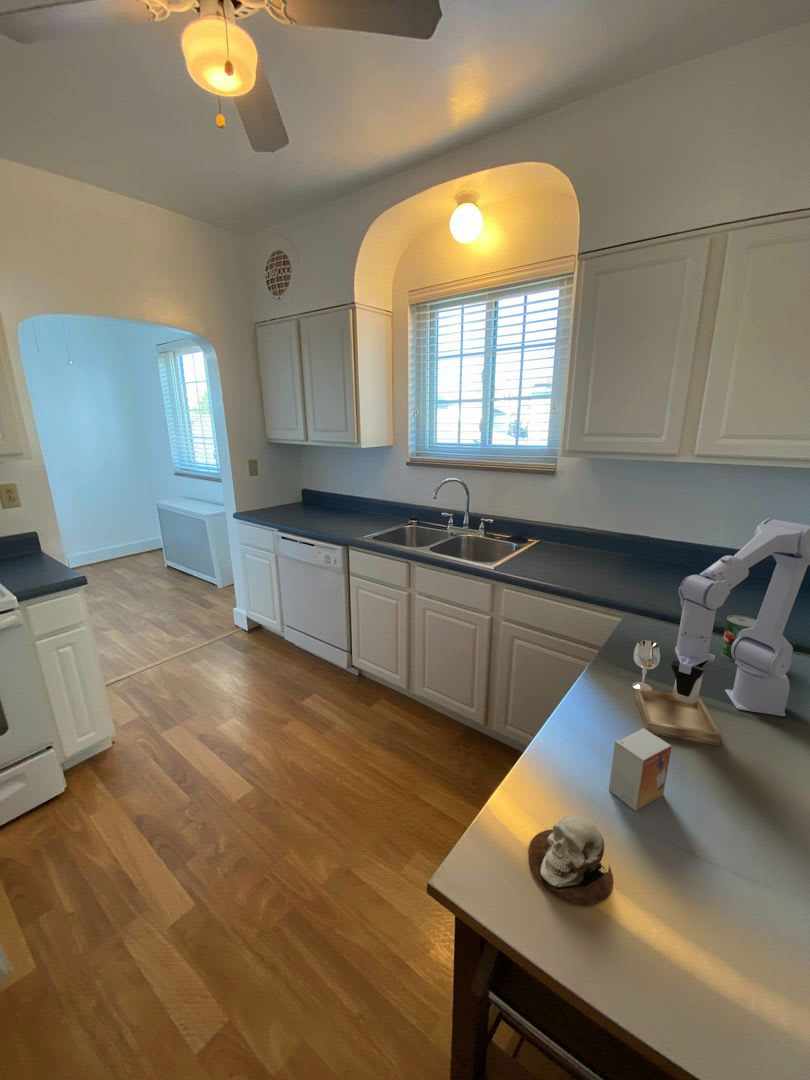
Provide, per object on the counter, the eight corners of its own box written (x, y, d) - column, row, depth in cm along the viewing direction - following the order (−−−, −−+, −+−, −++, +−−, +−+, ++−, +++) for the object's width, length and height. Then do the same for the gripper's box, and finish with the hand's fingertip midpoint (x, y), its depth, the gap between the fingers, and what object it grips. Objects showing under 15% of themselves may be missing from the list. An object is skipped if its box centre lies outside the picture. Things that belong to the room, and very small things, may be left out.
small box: (635, 813, 76) (643, 761, 73) (607, 790, 81) (614, 740, 78) (664, 795, 79) (673, 745, 77) (636, 774, 84) (643, 726, 82)
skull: (577, 925, 58) (542, 837, 62) (534, 910, 66) (506, 833, 70) (638, 881, 63) (602, 803, 67) (591, 872, 72) (562, 803, 76)
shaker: (699, 696, 97) (705, 668, 95) (694, 706, 93) (701, 677, 92) (675, 688, 100) (681, 660, 98) (670, 696, 96) (675, 668, 95)
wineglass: (659, 694, 109) (666, 650, 106) (636, 693, 109) (642, 650, 106) (647, 681, 115) (653, 638, 112) (625, 681, 115) (630, 638, 112)
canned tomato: (761, 663, 123) (769, 627, 120) (733, 663, 123) (740, 627, 120) (741, 649, 131) (748, 614, 128) (714, 649, 131) (720, 615, 128)
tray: (698, 707, 104) (700, 697, 104) (719, 745, 92) (721, 735, 91) (634, 697, 108) (635, 688, 107) (646, 733, 95) (648, 723, 95)
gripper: (713, 650, 85) (701, 712, 88) (722, 625, 96) (712, 681, 99) (671, 639, 89) (662, 698, 93) (685, 616, 100) (676, 670, 103)
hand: (685, 689), depth 96 cm, fingers closed on shaker, 5 cm apart
